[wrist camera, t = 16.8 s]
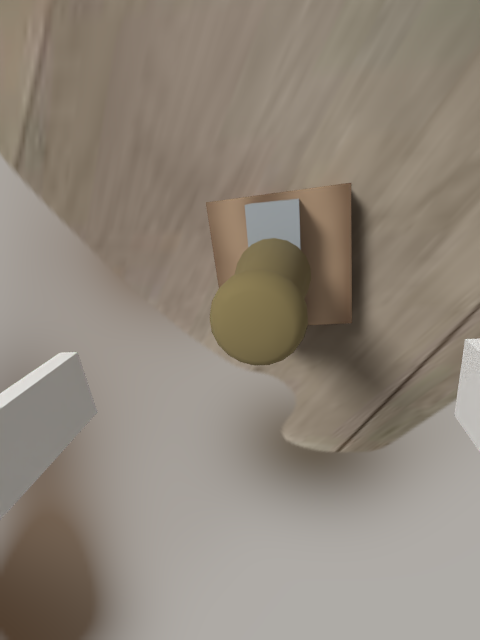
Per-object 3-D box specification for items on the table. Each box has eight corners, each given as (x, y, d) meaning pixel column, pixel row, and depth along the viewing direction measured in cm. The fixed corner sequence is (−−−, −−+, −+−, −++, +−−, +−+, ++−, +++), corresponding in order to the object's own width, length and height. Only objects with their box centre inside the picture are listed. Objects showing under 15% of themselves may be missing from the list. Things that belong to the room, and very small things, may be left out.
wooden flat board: (345, 183, 29) (350, 182, 26) (346, 310, 33) (351, 323, 30) (215, 201, 31) (205, 202, 28) (231, 317, 35) (225, 330, 32)
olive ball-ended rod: (261, 324, 27) (238, 401, 17) (220, 265, 26) (170, 310, 16) (325, 288, 25) (342, 350, 15) (284, 221, 24) (272, 241, 14)
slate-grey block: (299, 198, 27) (298, 199, 23) (302, 322, 30) (303, 338, 27) (250, 203, 27) (244, 204, 24) (260, 323, 31) (256, 338, 28)
